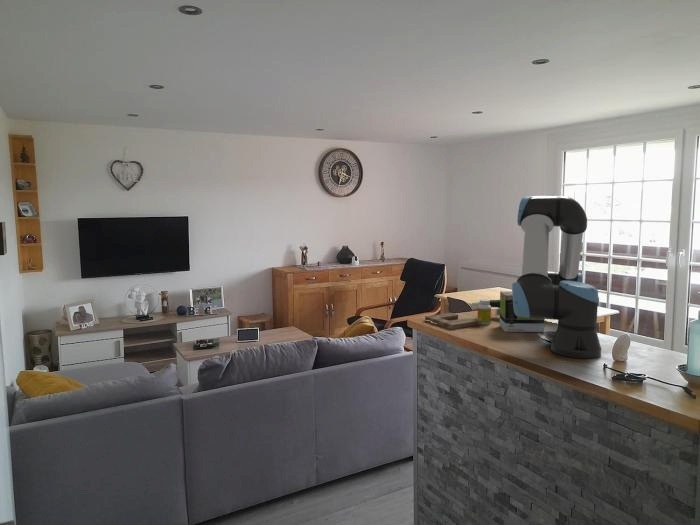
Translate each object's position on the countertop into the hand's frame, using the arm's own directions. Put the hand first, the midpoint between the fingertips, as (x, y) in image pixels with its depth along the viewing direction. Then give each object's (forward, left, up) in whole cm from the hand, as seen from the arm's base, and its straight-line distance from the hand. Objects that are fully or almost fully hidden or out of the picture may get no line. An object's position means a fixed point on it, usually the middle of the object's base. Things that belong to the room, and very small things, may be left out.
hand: (483, 308), depth 203 cm
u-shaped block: (+6, +12, -6) cm, 15 cm away
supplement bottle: (0, 0, -6) cm, 6 cm away
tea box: (-15, -5, -6) cm, 17 cm away
